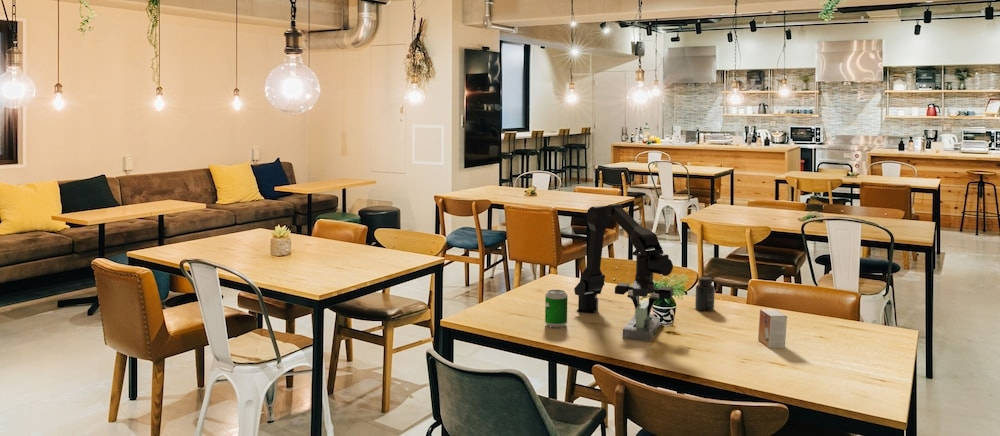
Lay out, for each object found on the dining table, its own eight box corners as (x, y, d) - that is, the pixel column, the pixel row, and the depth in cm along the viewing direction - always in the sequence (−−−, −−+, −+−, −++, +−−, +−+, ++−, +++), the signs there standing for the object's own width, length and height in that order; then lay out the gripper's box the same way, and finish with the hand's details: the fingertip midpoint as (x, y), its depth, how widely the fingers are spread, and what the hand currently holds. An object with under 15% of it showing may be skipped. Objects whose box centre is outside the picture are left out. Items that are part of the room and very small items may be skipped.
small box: (757, 340, 251) (759, 309, 249) (774, 340, 251) (776, 308, 250) (768, 348, 243) (770, 315, 242) (785, 347, 244) (787, 315, 242)
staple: (634, 331, 256) (635, 309, 255) (641, 321, 267) (642, 300, 266) (643, 332, 255) (644, 310, 254) (650, 322, 266) (651, 301, 265)
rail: (622, 338, 253) (622, 329, 252) (636, 320, 273) (636, 312, 272) (650, 341, 249) (650, 332, 249) (661, 323, 270) (662, 315, 269)
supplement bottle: (712, 307, 292) (713, 276, 290) (715, 312, 285) (716, 280, 283) (693, 306, 292) (694, 275, 290) (696, 311, 286) (697, 279, 284)
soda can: (570, 324, 269) (570, 290, 267) (562, 329, 262) (562, 295, 260) (549, 321, 272) (550, 288, 270) (541, 327, 265) (542, 292, 263)
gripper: (611, 272, 254) (610, 318, 256) (669, 277, 247) (667, 324, 250) (619, 266, 264) (617, 310, 267) (674, 270, 258) (672, 316, 260)
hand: (643, 315), depth 260 cm, fingers closed on staple, 3 cm apart
